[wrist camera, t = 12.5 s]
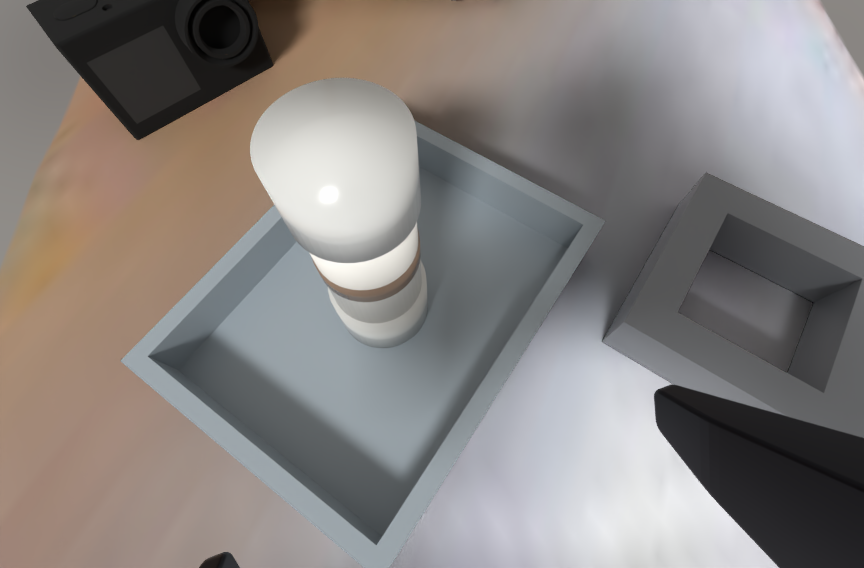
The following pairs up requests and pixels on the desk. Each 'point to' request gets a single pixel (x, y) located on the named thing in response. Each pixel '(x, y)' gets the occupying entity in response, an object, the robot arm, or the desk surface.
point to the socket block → (776, 261)
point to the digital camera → (156, 52)
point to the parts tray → (368, 350)
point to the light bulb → (350, 199)
